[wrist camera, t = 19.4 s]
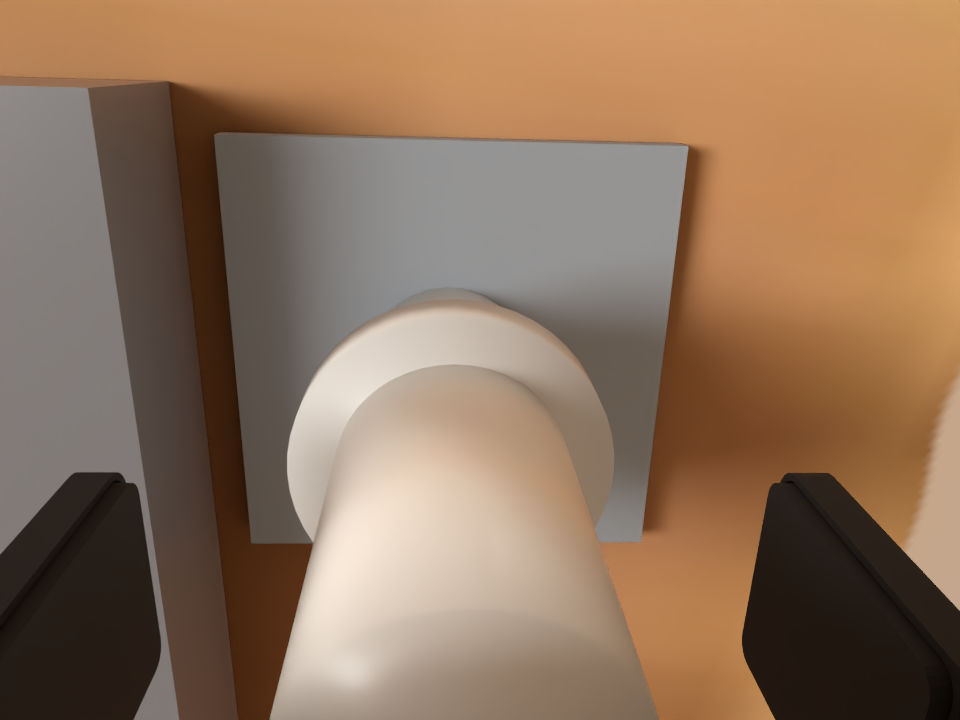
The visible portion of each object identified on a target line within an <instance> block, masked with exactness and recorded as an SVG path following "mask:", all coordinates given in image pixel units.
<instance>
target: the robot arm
mask: <svg viewBox="0 0 960 720" xmlns="http://www.w3.org/2000/svg"><path fill="white" fill-rule="evenodd" d="M742 647H743V653H744V657H745V660H746V662H747V665H748V667H749V669H750V671H751V673H752V675H753V676H754V678H755V680H756V682H757V684H758V686H759V688H760V690H761V692H762V694H763V696H764V698H765V700H766V702H767V704H768V706H769V708H770V710H771V712H772V714H773V716H774V718H775V720H960V611H959V610H958V609H957V608H956V607H955V606H954V604H953V603H952V602H950V600H949V599H948V598H947V597H946V596H945V595H944V594H943V593H942V592H941V591H940V590H939V589H938V587H936V585H934V583H933V582H932V581H931V580H930V579H929V578H928V577H927V576H926V575H925V574H924V573H923V571H922V570H921V569H920V568H919V567H918V566H917V565H916V564H915V563H914V562H913V561H912V560H911V559H910V558H909V557H908V556H907V554H906V553H905V552H904V551H903V550H902V549H901V548H900V547H899V546H898V545H897V544H896V543H895V542H894V541H893V540H892V538H891V537H890V536H889V535H888V534H887V533H886V532H885V531H884V530H883V529H882V528H881V527H880V526H879V525H878V524H877V523H876V521H875V520H874V519H873V518H872V517H871V516H870V515H869V514H868V513H867V512H866V511H865V510H864V509H863V508H862V507H861V505H860V504H859V503H858V502H857V501H856V500H855V499H854V498H853V497H852V496H851V495H850V494H849V493H848V492H847V491H846V490H845V488H844V487H843V486H842V485H841V484H840V483H839V482H838V481H837V480H836V479H835V478H834V477H833V476H832V475H830V474H829V473H787V474H786V475H784V477H783V479H782V480H781V483H774V484H773V485H772V486H771V488H770V490H769V493H768V498H767V504H766V509H765V515H764V520H763V525H762V531H761V536H760V542H759V547H758V552H757V558H756V563H755V569H754V574H753V579H752V585H751V590H750V596H749V601H748V606H747V612H746V617H745V623H744V628H743V634H742ZM160 655H161V636H160V630H159V623H158V616H157V609H156V603H155V596H154V589H153V583H152V576H151V569H150V562H149V556H148V549H147V542H146V536H145V529H144V522H143V515H142V509H141V502H140V495H139V491H138V488H137V486H136V484H134V483H126V481H125V479H124V477H123V475H122V474H121V473H119V472H76V473H73V474H72V475H71V476H69V478H68V479H67V480H66V481H65V482H64V483H63V484H62V485H61V487H60V488H59V489H58V490H57V491H56V492H55V493H54V495H53V496H52V497H51V498H50V499H49V500H48V501H47V502H46V504H45V505H44V506H43V507H42V508H41V509H40V510H39V511H38V513H37V514H36V515H35V516H34V517H33V518H32V519H31V520H30V522H29V523H28V524H27V525H26V526H25V527H24V528H23V529H22V531H21V532H20V533H19V534H18V535H17V536H16V537H15V538H14V540H13V541H12V542H11V543H10V544H9V545H8V546H7V547H6V549H5V550H4V551H3V552H2V553H1V554H0V720H134V718H135V716H136V713H137V711H138V709H139V707H140V705H141V703H142V700H143V698H144V696H145V694H146V692H147V690H148V688H149V685H150V683H151V681H152V679H153V677H154V675H155V672H156V670H157V668H158V665H159V661H160Z"/></svg>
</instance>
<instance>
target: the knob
mask: <svg viewBox="0 0 960 720" xmlns="http://www.w3.org/2000/svg"><path fill="white" fill-rule="evenodd" d="M613 474H614V447H613V439H612V433H611V429H610V426H609V422H608V418H607V415H606V413H605V411H604V409H603V406H602V404H601V402H600V400H599V397H598V395H597V393H596V391H595V389H594V387H593V385H592V383H591V381H590V379H589V377H588V375H587V373H586V372H585V370H584V368H583V367H582V365H581V364H580V362H579V360H578V359H577V358H576V357H575V356H574V354H573V353H572V352H571V351H570V350H569V349H568V347H567V346H566V345H565V344H564V343H563V342H562V341H560V340H559V339H558V338H557V337H556V336H555V335H554V334H553V333H551V332H550V331H549V330H547V329H546V328H544V327H543V326H541V325H540V324H538V323H537V322H535V321H534V320H532V319H530V318H528V317H526V316H524V315H521V314H519V313H517V312H515V311H512V310H509V309H506V308H504V307H501V306H499V305H497V304H496V303H495V302H493V301H492V300H490V299H489V298H487V297H485V296H483V295H481V294H479V293H476V292H473V291H470V290H465V289H460V288H436V289H430V290H426V291H423V292H420V293H417V294H415V295H413V296H411V297H409V298H407V299H405V300H404V301H402V302H401V303H399V304H398V305H397V306H396V307H394V308H393V309H392V310H390V311H388V312H386V313H384V314H382V315H380V316H377V317H375V318H373V319H371V320H370V321H368V322H366V323H365V324H363V325H362V326H360V327H358V328H357V329H355V330H354V331H353V332H351V333H350V334H349V335H348V336H347V337H345V338H344V339H343V340H342V341H341V342H339V343H338V344H337V345H336V346H335V348H334V349H333V350H332V351H331V352H330V353H329V354H328V355H327V356H326V358H325V359H324V360H323V362H322V363H321V365H320V366H319V368H318V369H317V371H316V372H315V373H314V375H313V377H312V379H311V381H310V383H309V385H308V388H307V390H306V392H305V394H304V397H303V399H302V402H301V405H300V407H299V410H298V412H297V415H296V418H295V421H294V424H293V428H292V431H291V434H290V439H289V446H288V452H287V476H288V483H289V490H290V494H291V497H292V501H293V504H294V507H295V510H296V513H297V515H298V517H299V519H300V521H301V523H302V525H303V527H304V529H305V530H306V532H307V534H308V535H309V537H310V538H311V540H312V541H313V547H312V551H311V555H310V559H309V563H308V567H307V571H306V575H305V579H304V583H303V587H302V591H301V595H300V599H299V603H298V607H297V611H296V615H295V619H294V623H293V627H292V631H291V635H290V639H289V643H288V647H287V651H286V655H285V659H284V663H283V667H282V671H281V675H280V679H279V683H278V687H277V691H276V695H275V699H274V703H273V707H272V711H271V715H270V719H269V720H659V719H658V716H657V712H656V709H655V706H654V703H653V700H652V697H651V694H650V691H649V688H648V685H647V682H646V679H645V676H644V673H643V670H642V667H641V664H640V661H639V658H638V655H637V653H636V650H635V647H634V644H633V641H632V638H631V635H630V632H629V629H628V626H627V623H626V620H625V617H624V614H623V611H622V608H621V605H620V602H619V599H618V596H617V593H616V590H615V587H614V584H613V581H612V579H611V576H610V573H609V570H608V567H607V564H606V561H605V558H604V555H603V552H602V549H601V546H600V543H599V540H598V537H597V534H596V531H595V527H596V525H597V523H598V521H599V519H600V517H601V515H602V513H603V511H604V509H605V506H606V503H607V500H608V497H609V494H610V491H611V485H612V479H613Z"/></svg>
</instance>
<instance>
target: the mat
mask: <svg viewBox="0 0 960 720" xmlns="http://www.w3.org/2000/svg"><path fill="white" fill-rule="evenodd" d="M214 142H215V153H216V164H217V174H218V185H219V196H220V207H221V218H222V229H223V240H224V251H225V262H226V273H227V283H228V294H229V305H230V316H231V327H232V338H233V349H234V360H235V371H236V382H237V392H238V403H239V414H240V425H241V436H242V447H243V458H244V469H245V480H246V491H247V501H248V512H249V523H250V534H251V544H271V543H313V541H312V540H311V538H310V537H309V535H308V534H307V532H306V530H305V529H304V527H303V525H302V523H301V521H300V519H299V517H298V515H297V513H296V510H295V507H294V504H293V501H292V497H291V494H290V490H289V483H288V476H287V452H288V446H289V439H290V434H291V431H292V428H293V424H294V421H295V418H296V415H297V412H298V410H299V407H300V405H301V402H302V399H303V397H304V394H305V392H306V390H307V388H308V385H309V383H310V381H311V379H312V377H313V375H314V373H315V372H316V371H317V369H318V368H319V366H320V365H321V363H322V362H323V360H324V359H325V358H326V356H327V355H328V354H329V353H330V352H331V351H332V350H333V349H334V348H335V346H336V345H337V344H338V343H339V342H341V341H342V340H343V339H344V338H345V337H347V336H348V335H349V334H350V333H351V332H353V331H354V330H355V329H357V328H358V327H360V326H362V325H363V324H365V323H366V322H368V321H370V320H371V319H373V318H375V317H377V316H380V315H382V314H384V313H386V312H388V311H390V310H392V309H393V308H394V307H396V306H397V305H398V304H399V303H401V302H402V301H404V300H405V299H407V298H409V297H411V296H413V295H415V294H417V293H420V292H423V291H426V290H430V289H436V288H460V289H465V290H470V291H473V292H476V293H479V294H481V295H483V296H485V297H487V298H489V299H490V300H492V301H493V302H495V303H496V304H497V305H499V306H501V307H504V308H506V309H509V310H512V311H515V312H517V313H519V314H521V315H524V316H526V317H528V318H530V319H532V320H534V321H535V322H537V323H538V324H540V325H541V326H543V327H544V328H546V329H547V330H549V331H550V332H551V333H553V334H554V335H555V336H556V337H557V338H558V339H559V340H560V341H562V342H563V343H564V344H565V345H566V346H567V347H568V349H569V350H570V351H571V352H572V353H573V354H574V356H575V357H576V358H577V359H578V360H579V362H580V364H581V365H582V367H583V368H584V370H585V372H586V373H587V375H588V377H589V379H590V381H591V383H592V385H593V387H594V389H595V391H596V393H597V395H598V397H599V400H600V402H601V404H602V406H603V409H604V411H605V413H606V415H607V418H608V422H609V426H610V429H611V433H612V439H613V447H614V474H613V479H612V485H611V491H610V494H609V497H608V500H607V503H606V506H605V509H604V511H603V513H602V515H601V517H600V519H599V521H598V523H597V525H596V527H595V531H596V534H597V537H598V540H599V542H641V537H642V529H643V521H644V512H645V504H646V496H647V487H648V479H649V471H650V463H651V454H652V446H653V438H654V429H655V421H656V413H657V404H658V396H659V388H660V380H661V371H662V363H663V355H664V346H665V338H666V330H667V321H668V313H669V305H670V296H671V288H672V280H673V272H674V263H675V255H676V247H677V238H678V230H679V222H680V213H681V205H682V197H683V189H684V180H685V172H686V164H687V155H688V147H689V146H687V145H684V144H682V143H654V142H613V141H572V140H531V139H490V138H449V137H408V136H367V135H326V134H285V133H244V132H220V133H217V134H214Z"/></svg>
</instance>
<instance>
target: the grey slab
mask: <svg viewBox="0 0 960 720" xmlns="http://www.w3.org/2000/svg"><path fill="white" fill-rule="evenodd" d="M76 472H119V473H121V474H122V475H123V477H124V479H125V481H126V483H134V484H136V486H137V488H138V491H139V495H140V502H141V509H142V515H143V522H144V529H145V536H146V542H147V549H148V556H149V562H150V569H151V576H152V583H153V589H154V596H155V603H156V609H157V616H158V623H159V630H160V636H161V655H160V661H159V665H158V668H157V670H156V672H155V675H154V677H153V679H152V681H151V683H150V685H149V688H148V690H147V692H146V694H145V696H144V698H143V700H142V703H141V705H140V707H139V709H138V711H137V713H136V716H135V718H134V720H238V713H237V703H236V694H235V685H234V676H233V667H232V658H231V649H230V639H229V630H228V621H227V612H226V603H225V594H224V585H223V575H222V566H221V557H220V548H219V539H218V530H217V521H216V511H215V502H214V493H213V484H212V475H211V466H210V457H209V447H208V438H207V429H206V420H205V411H204V402H203V393H202V383H201V374H200V365H199V356H198V347H197V338H196V329H195V319H194V310H193V301H192V292H191V283H190V274H189V265H188V255H187V246H186V237H185V228H184V219H183V210H182V201H181V191H180V182H179V173H178V164H177V155H176V146H175V137H174V127H173V118H172V109H171V100H170V91H169V82H168V81H146V80H110V79H74V78H37V77H1V76H0V554H1V553H2V552H3V551H4V550H5V549H6V547H7V546H8V545H9V544H10V543H11V542H12V541H13V540H14V538H15V537H16V536H17V535H18V534H19V533H20V532H21V531H22V529H23V528H24V527H25V526H26V525H27V524H28V523H29V522H30V520H31V519H32V518H33V517H34V516H35V515H36V514H37V513H38V511H39V510H40V509H41V508H42V507H43V506H44V505H45V504H46V502H47V501H48V500H49V499H50V498H51V497H52V496H53V495H54V493H55V492H56V491H57V490H58V489H59V488H60V487H61V485H62V484H63V483H64V482H65V481H66V480H67V479H68V478H69V476H71V475H72V474H73V473H76Z"/></svg>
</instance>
